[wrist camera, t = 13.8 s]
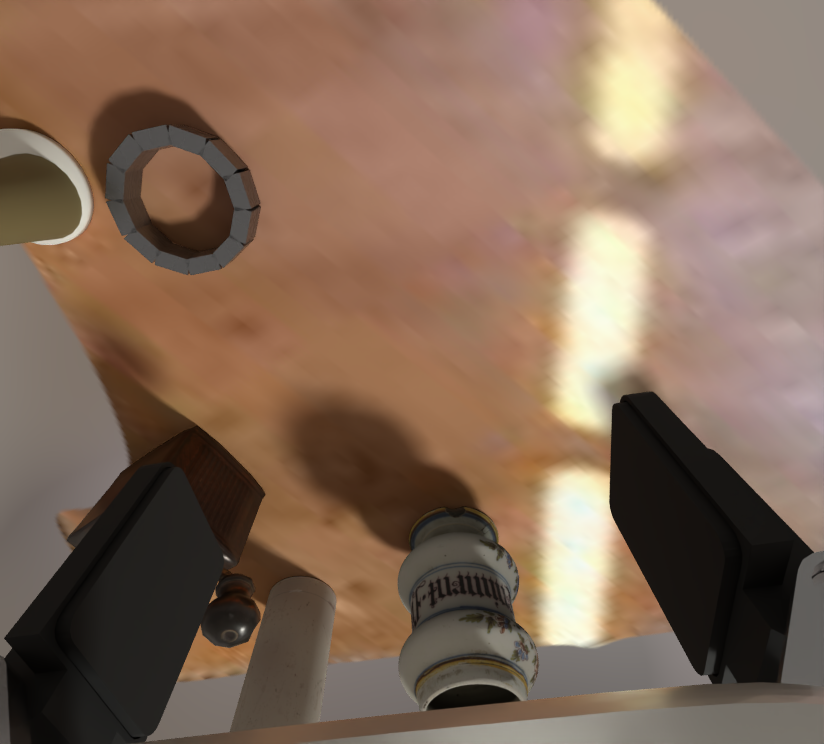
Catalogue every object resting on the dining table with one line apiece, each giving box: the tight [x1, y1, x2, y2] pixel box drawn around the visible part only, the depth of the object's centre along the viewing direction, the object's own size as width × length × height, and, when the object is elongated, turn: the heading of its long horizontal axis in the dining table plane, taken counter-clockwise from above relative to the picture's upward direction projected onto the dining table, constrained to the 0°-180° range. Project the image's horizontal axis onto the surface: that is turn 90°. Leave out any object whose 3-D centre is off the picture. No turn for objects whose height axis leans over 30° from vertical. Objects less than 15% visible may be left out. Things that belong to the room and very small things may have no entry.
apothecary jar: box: [398, 507, 539, 712], centre depth 45 cm, size 12×12×18 cm
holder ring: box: [105, 125, 261, 275], centre depth 35 cm, size 10×10×2 cm
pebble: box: [0, 129, 94, 245], centre depth 35 cm, size 8×8×1 cm
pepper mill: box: [67, 426, 265, 648], centre depth 40 cm, size 16×11×18 cm
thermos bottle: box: [230, 576, 336, 732], centre depth 45 cm, size 8×8×28 cm
